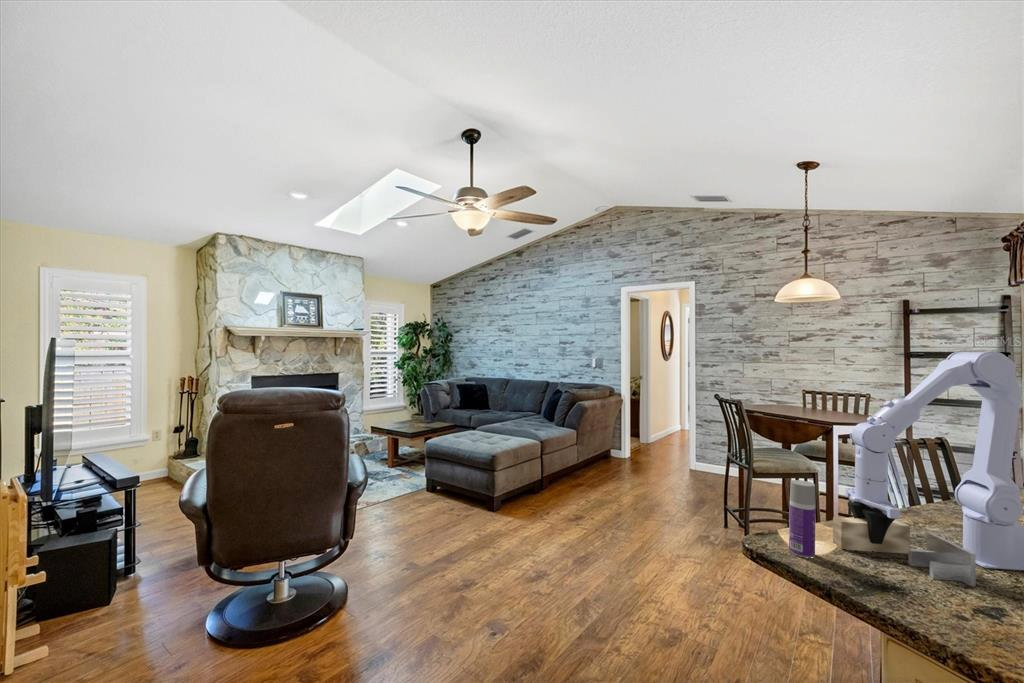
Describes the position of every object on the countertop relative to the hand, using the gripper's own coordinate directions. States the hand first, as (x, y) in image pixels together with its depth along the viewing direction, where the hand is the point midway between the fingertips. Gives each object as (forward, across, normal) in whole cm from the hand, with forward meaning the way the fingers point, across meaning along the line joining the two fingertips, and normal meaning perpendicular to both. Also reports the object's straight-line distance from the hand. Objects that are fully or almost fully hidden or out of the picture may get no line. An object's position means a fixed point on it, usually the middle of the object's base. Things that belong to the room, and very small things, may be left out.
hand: (870, 539), depth 100 cm
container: (+2, +5, -17) cm, 18 cm away
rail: (+2, 0, 0) cm, 2 cm away
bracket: (+2, +10, +6) cm, 12 cm away
